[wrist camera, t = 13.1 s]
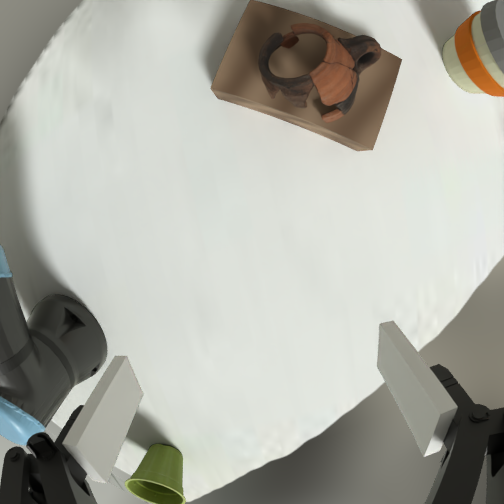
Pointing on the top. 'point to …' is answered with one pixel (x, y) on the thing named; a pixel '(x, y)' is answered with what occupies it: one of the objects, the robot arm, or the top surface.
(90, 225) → the top surface
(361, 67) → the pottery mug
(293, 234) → the top surface
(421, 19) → the top surface
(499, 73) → the reusable coffee cup
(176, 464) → the plant pot
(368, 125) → the walnut box
